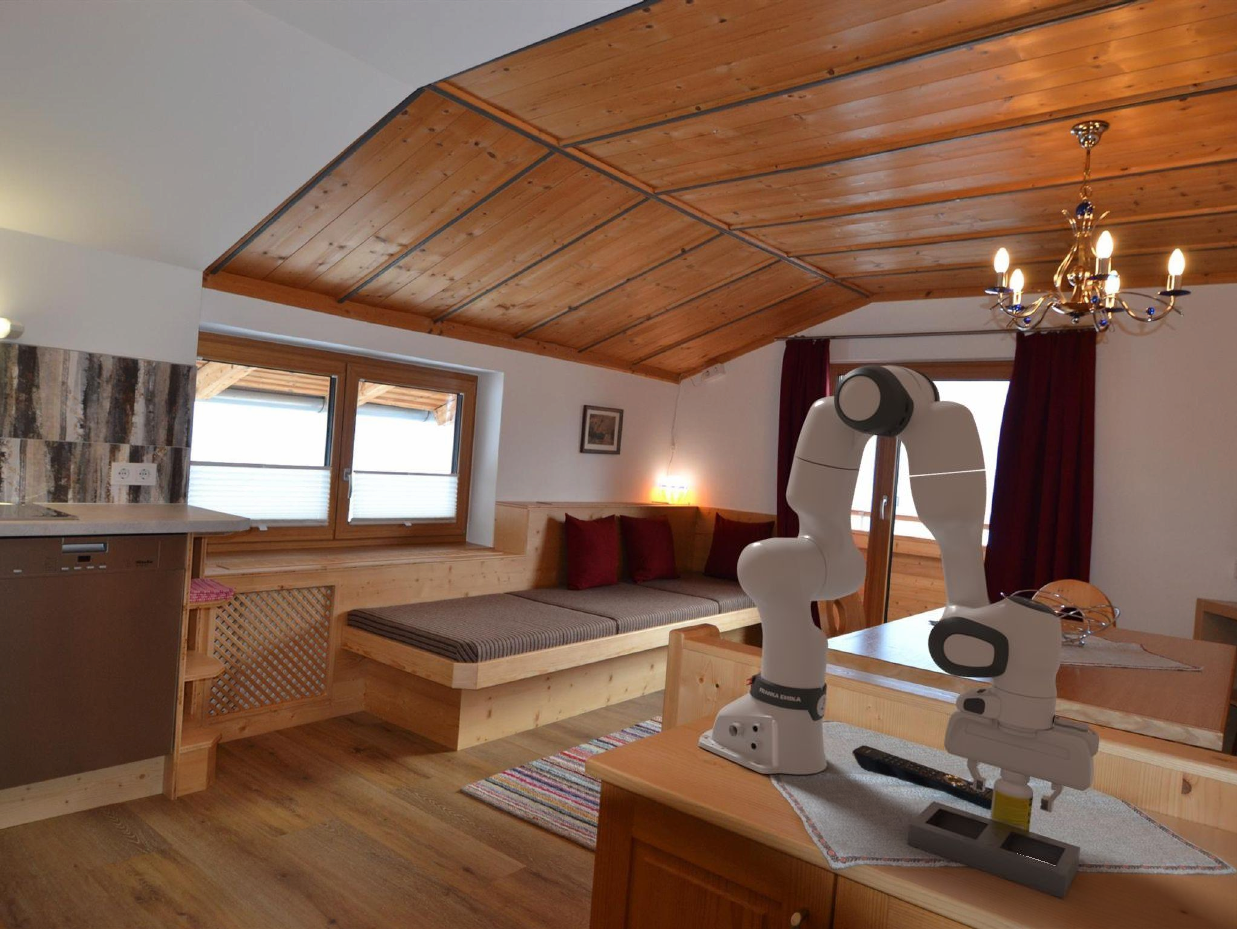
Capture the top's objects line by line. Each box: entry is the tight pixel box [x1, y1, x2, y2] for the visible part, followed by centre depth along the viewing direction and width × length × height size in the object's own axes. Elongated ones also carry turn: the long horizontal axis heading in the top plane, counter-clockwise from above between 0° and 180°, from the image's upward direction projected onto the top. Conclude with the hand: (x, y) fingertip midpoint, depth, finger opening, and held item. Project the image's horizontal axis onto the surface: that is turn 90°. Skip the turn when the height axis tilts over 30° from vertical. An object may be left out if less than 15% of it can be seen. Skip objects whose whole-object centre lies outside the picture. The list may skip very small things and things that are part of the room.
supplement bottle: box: [989, 768, 1034, 831], centre depth 130 cm, size 5×5×10 cm
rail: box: [907, 800, 1081, 900], centre depth 122 cm, size 20×11×3 cm, turn 54°
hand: (1011, 799), depth 130 cm, fingers open, 8 cm apart
